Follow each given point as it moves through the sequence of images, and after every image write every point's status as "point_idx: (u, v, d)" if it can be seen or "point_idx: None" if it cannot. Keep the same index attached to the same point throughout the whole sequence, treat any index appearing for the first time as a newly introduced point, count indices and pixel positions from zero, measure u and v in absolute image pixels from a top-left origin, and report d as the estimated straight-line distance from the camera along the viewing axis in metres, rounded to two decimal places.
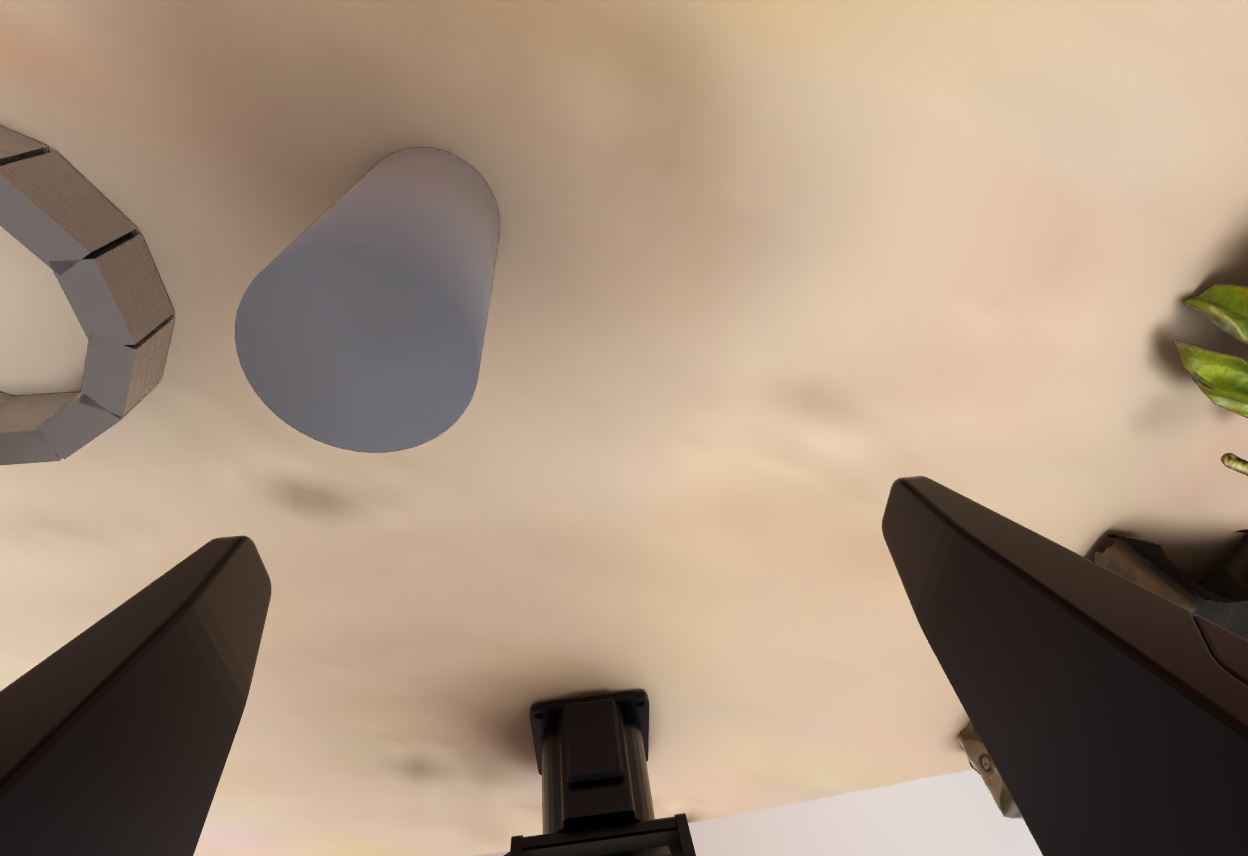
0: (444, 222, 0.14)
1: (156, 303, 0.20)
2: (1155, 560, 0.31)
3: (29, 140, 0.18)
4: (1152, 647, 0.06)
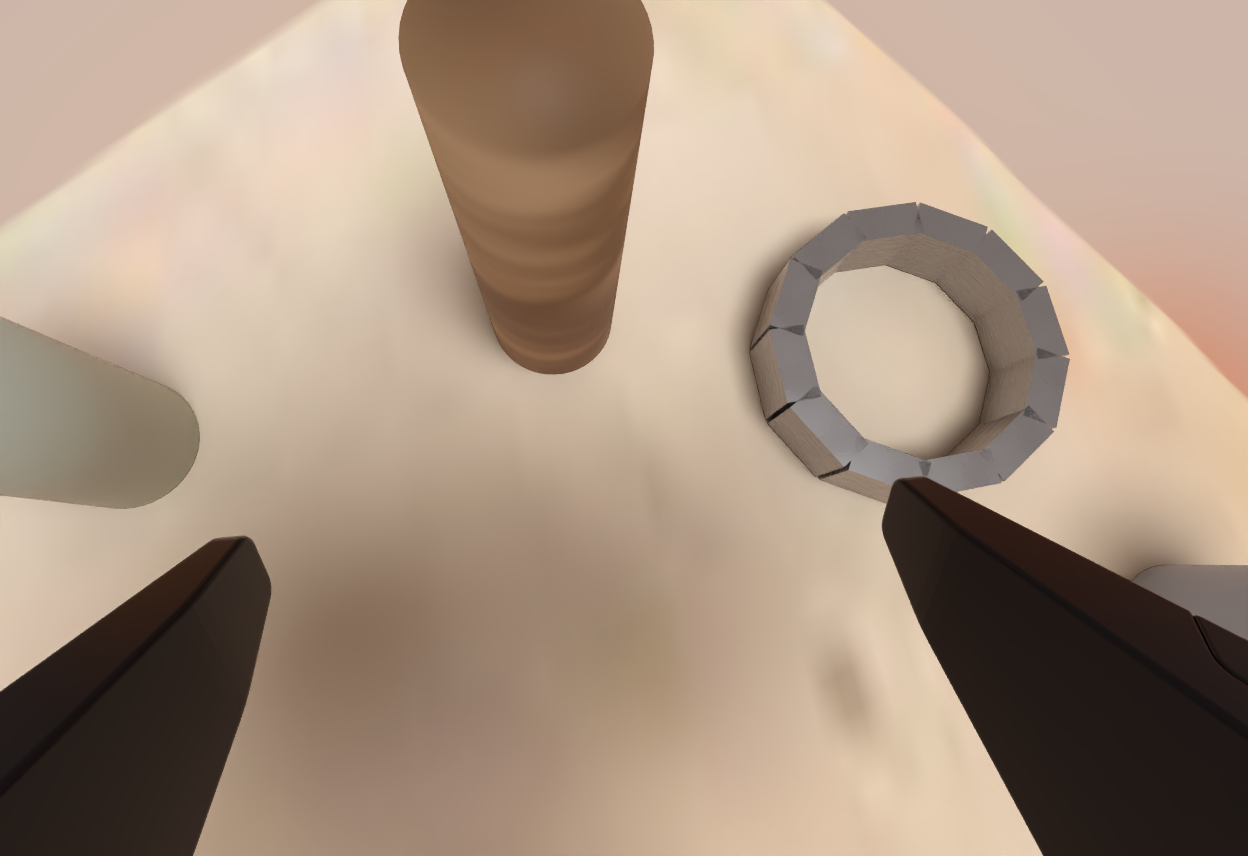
0: None
1: None
2: None
3: None
4: (1152, 647, 0.06)
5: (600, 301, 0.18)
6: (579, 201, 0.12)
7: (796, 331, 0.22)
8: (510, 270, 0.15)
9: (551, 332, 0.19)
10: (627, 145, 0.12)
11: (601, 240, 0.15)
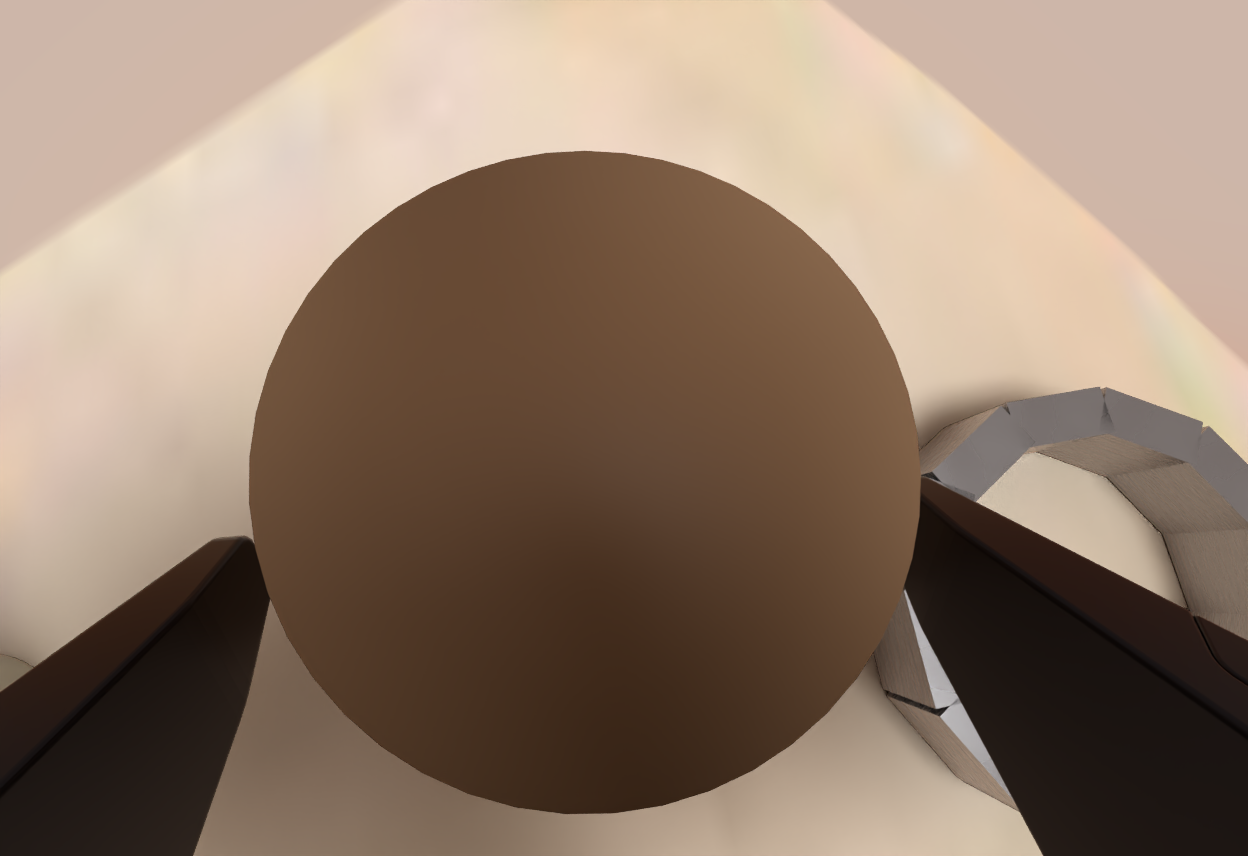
0: None
1: None
2: None
3: None
4: (1151, 647, 0.06)
5: None
6: None
7: None
8: None
9: None
10: None
11: None
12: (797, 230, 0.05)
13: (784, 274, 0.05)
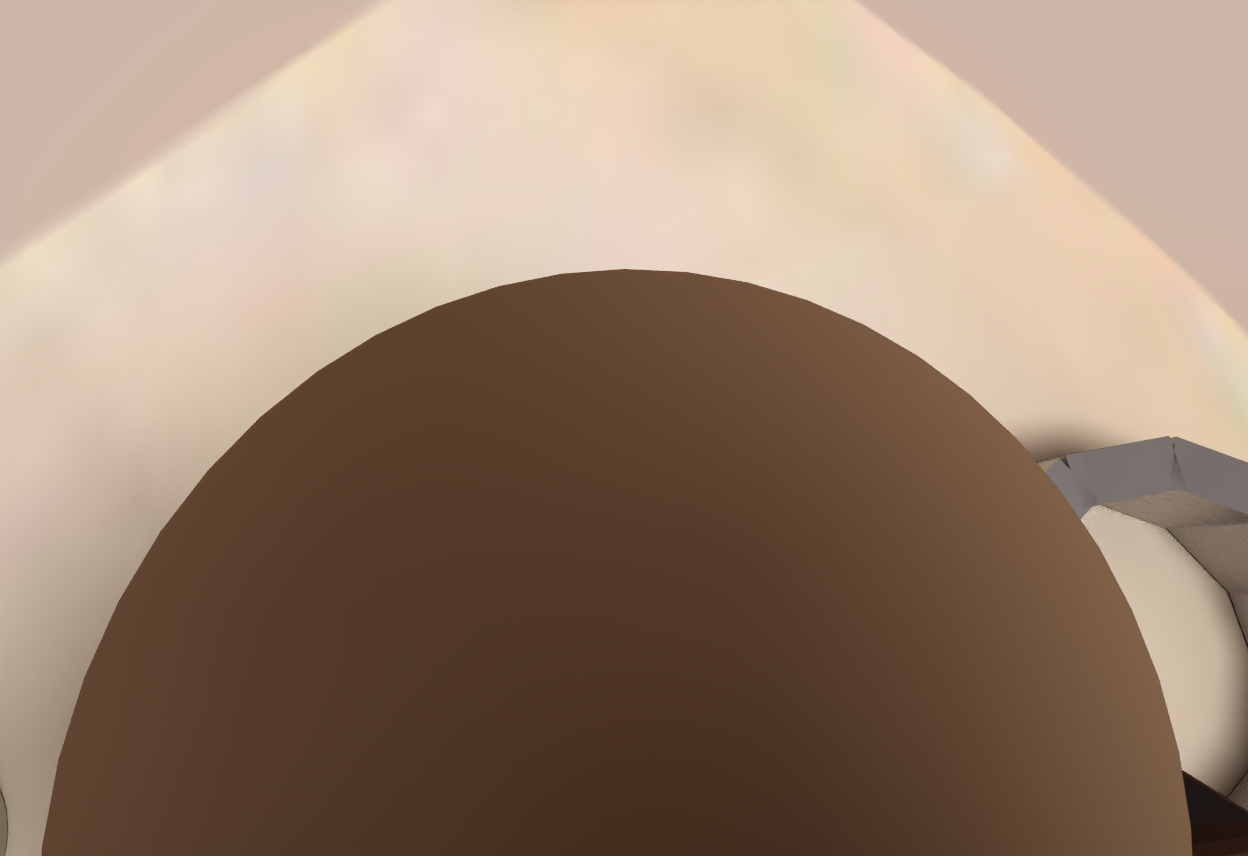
0: None
1: None
2: None
3: None
4: None
5: None
6: None
7: None
8: None
9: None
10: None
11: None
12: (961, 395, 0.03)
13: (947, 474, 0.03)
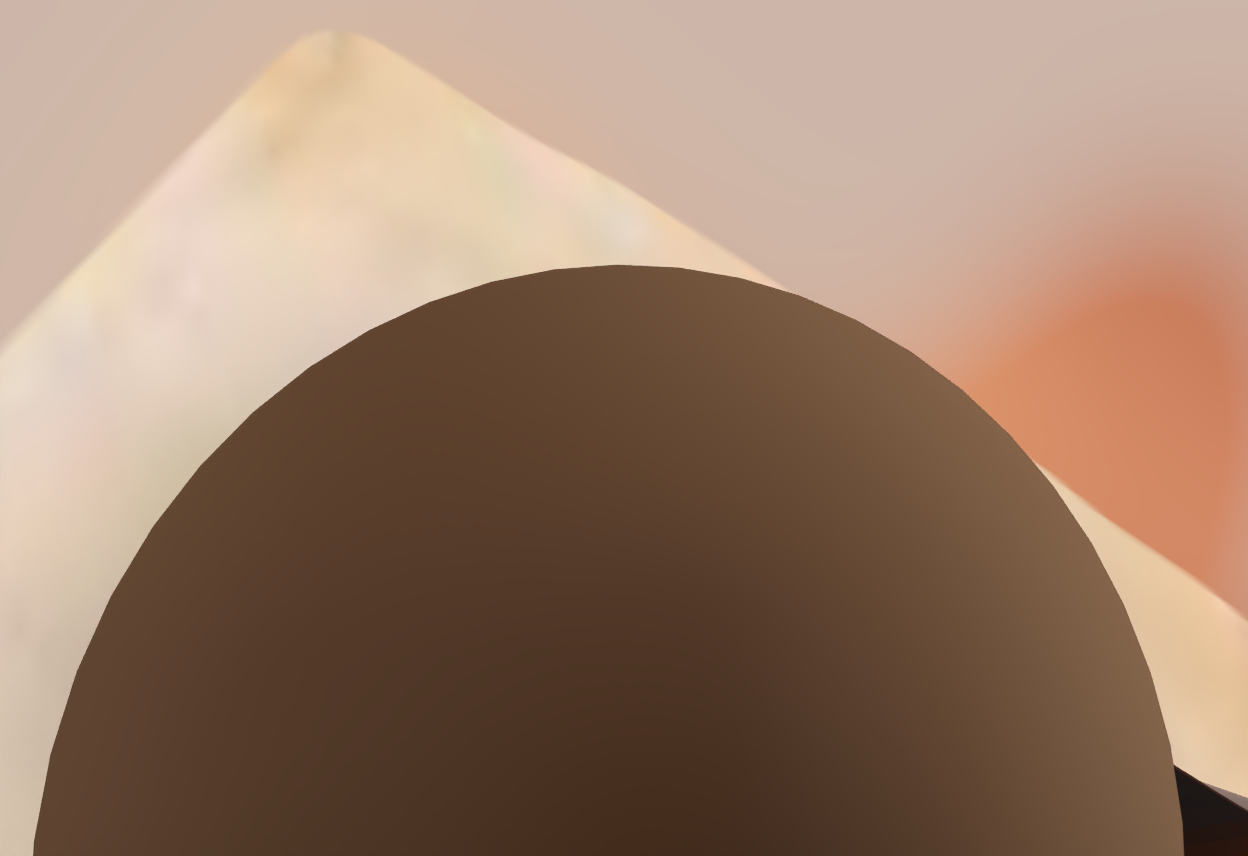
0: None
1: None
2: None
3: None
4: None
5: None
6: None
7: None
8: None
9: None
10: None
11: None
12: (955, 391, 0.03)
13: (940, 469, 0.03)
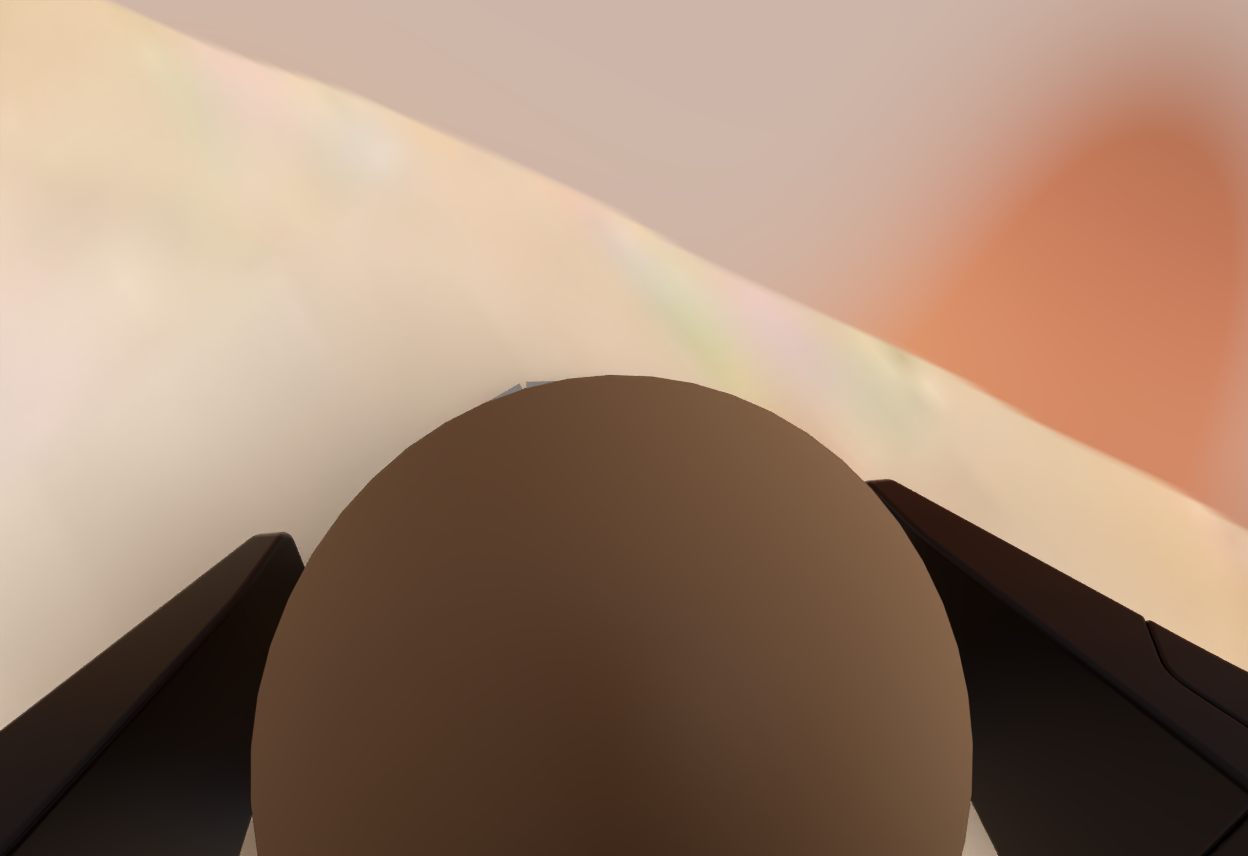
0: None
1: None
2: None
3: None
4: (1101, 653, 0.06)
5: None
6: None
7: None
8: None
9: None
10: None
11: None
12: (836, 459, 0.04)
13: (824, 513, 0.04)
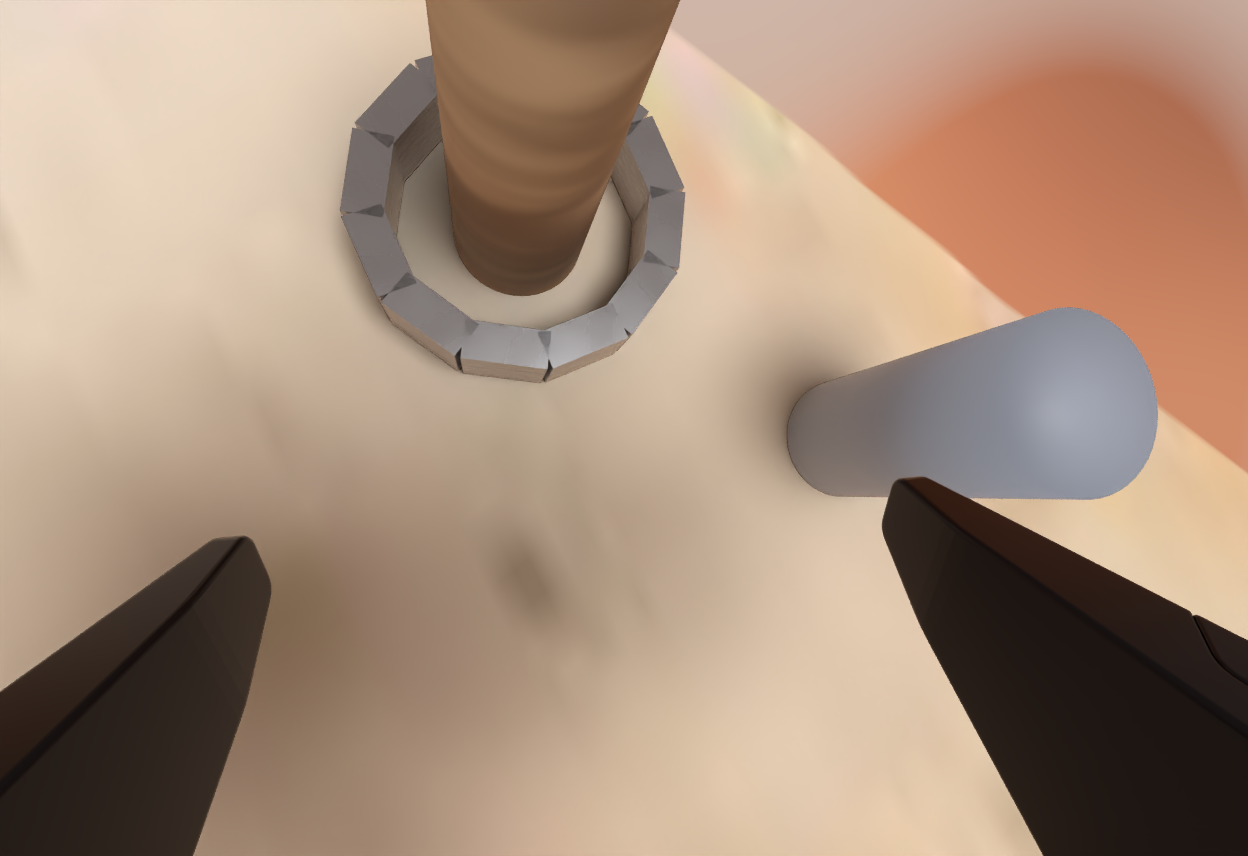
0: None
1: None
2: None
3: None
4: (1151, 647, 0.06)
5: (578, 224, 0.17)
6: (586, 101, 0.11)
7: (374, 213, 0.19)
8: (491, 169, 0.14)
9: (520, 247, 0.18)
10: (649, 49, 0.11)
11: (597, 154, 0.13)
12: None
13: None
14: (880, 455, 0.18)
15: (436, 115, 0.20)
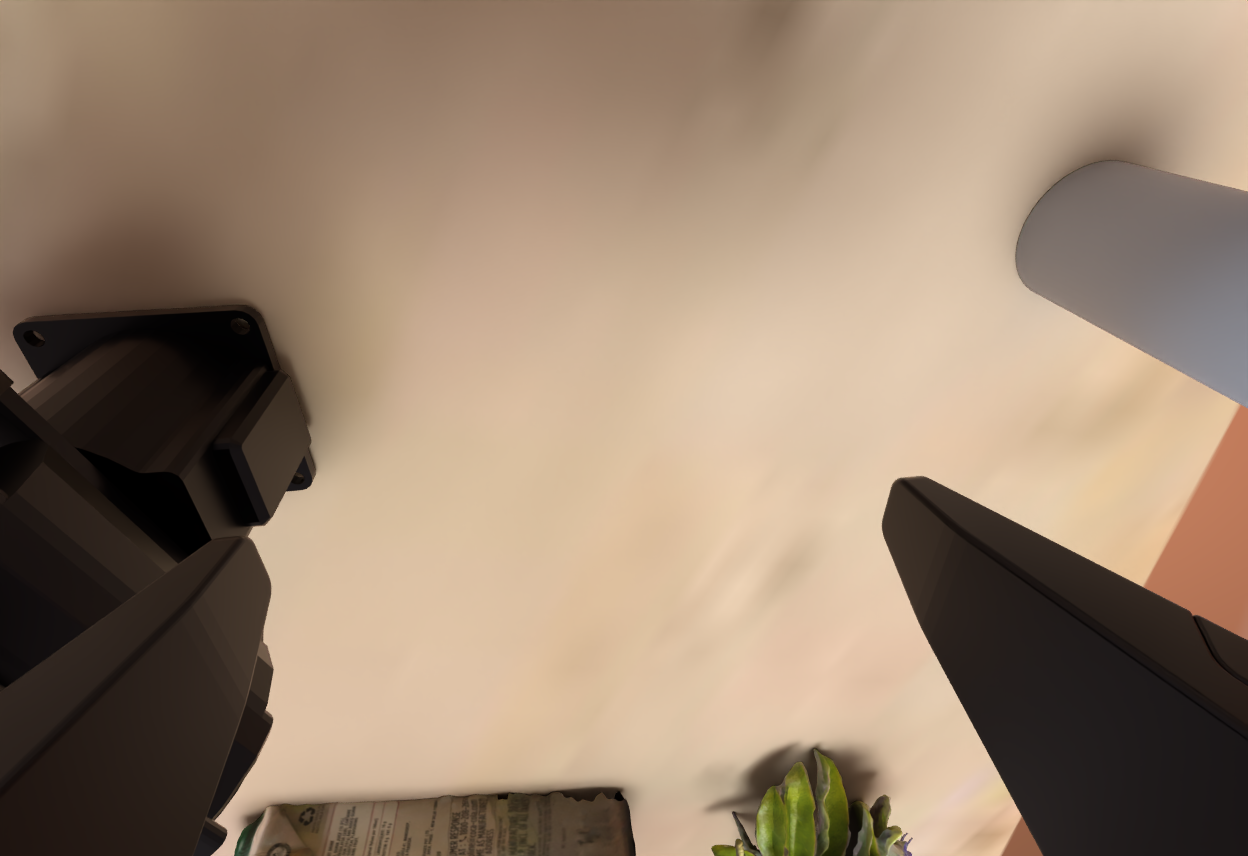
0: None
1: None
2: (633, 838, 0.34)
3: None
4: (1151, 647, 0.06)
5: None
6: None
7: None
8: None
9: None
10: None
11: None
12: None
13: None
14: (1185, 255, 0.15)
15: None
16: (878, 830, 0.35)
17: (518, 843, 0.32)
